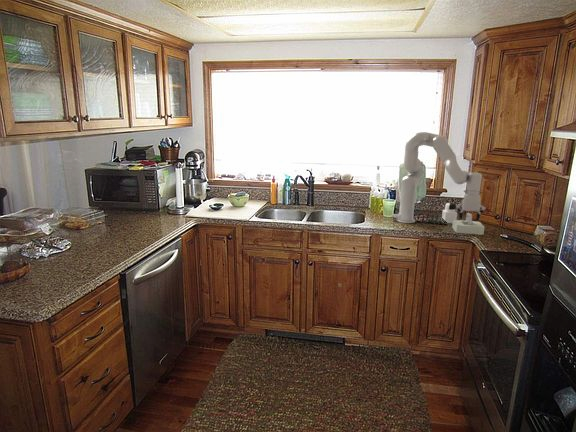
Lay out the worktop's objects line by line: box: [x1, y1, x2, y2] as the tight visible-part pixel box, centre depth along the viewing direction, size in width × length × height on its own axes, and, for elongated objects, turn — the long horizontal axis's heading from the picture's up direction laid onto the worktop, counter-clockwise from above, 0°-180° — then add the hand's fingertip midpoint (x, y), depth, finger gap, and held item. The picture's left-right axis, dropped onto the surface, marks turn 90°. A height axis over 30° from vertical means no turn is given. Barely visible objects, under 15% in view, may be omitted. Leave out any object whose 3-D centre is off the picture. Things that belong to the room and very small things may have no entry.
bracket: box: [465, 212, 473, 225], centre depth 252 cm, size 5×6×11 cm
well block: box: [451, 219, 486, 236], centre depth 252 cm, size 16×13×5 cm
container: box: [441, 202, 458, 224], centre depth 272 cm, size 8×8×13 cm
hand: (468, 219), depth 251 cm, fingers open, 9 cm apart
